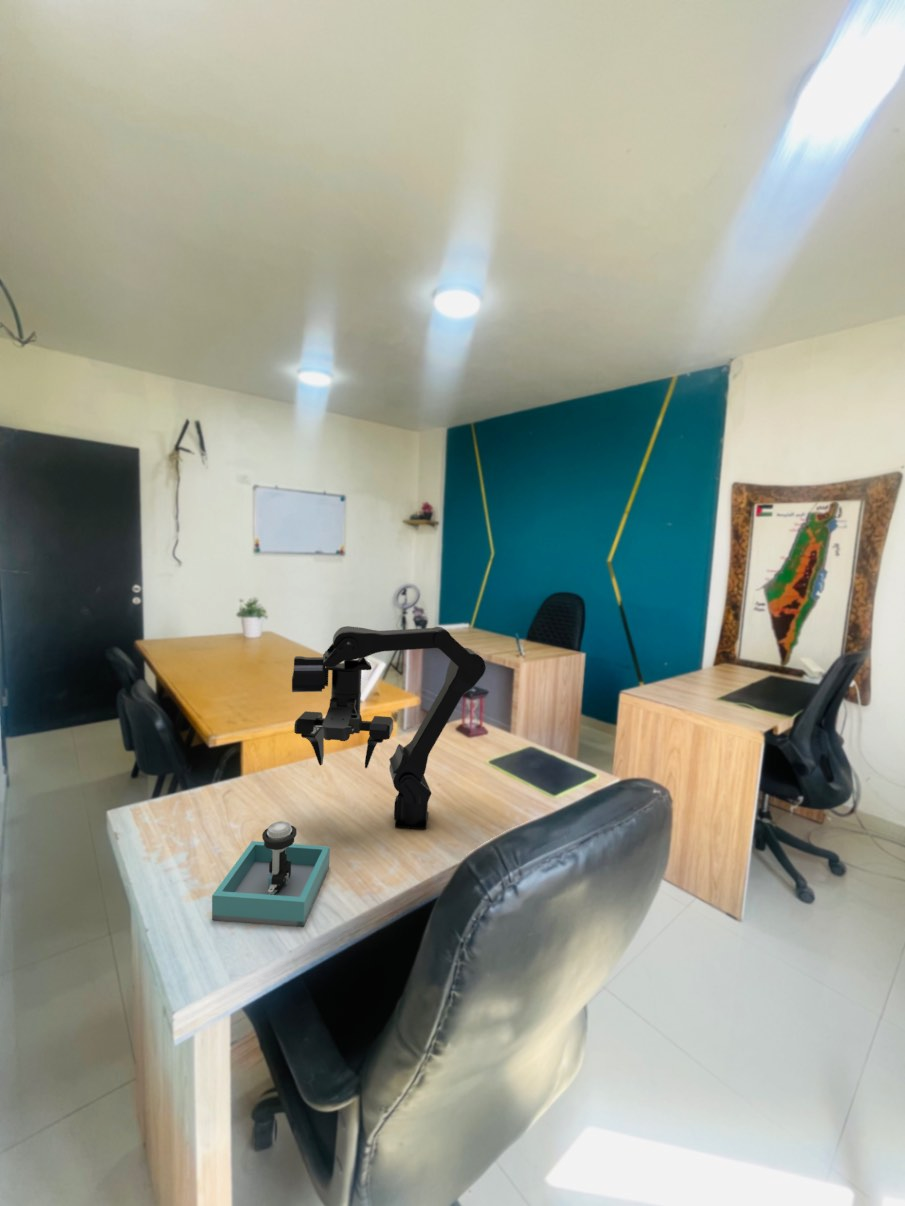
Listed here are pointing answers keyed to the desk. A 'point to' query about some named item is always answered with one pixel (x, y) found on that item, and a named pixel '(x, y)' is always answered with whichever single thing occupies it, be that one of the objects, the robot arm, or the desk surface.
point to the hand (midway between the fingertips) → (343, 766)
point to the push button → (279, 853)
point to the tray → (248, 886)
